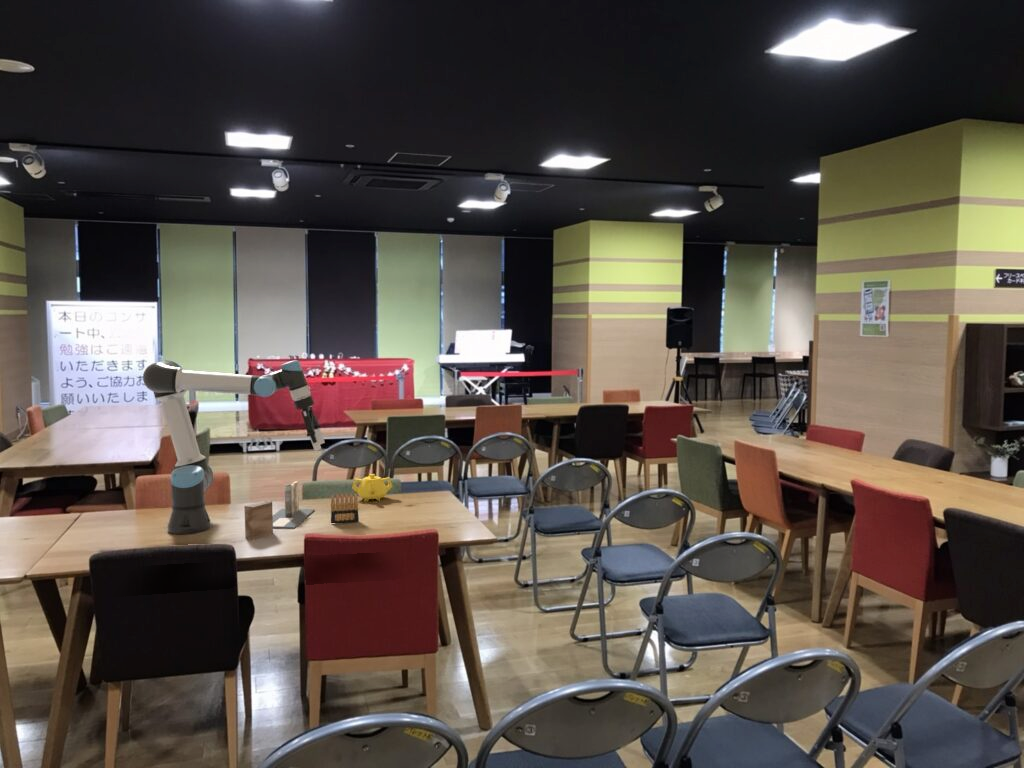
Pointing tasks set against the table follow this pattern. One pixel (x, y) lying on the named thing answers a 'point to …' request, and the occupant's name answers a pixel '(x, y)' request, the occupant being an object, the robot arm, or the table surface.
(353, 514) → the ammunition clip
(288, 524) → the mat
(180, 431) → the robot arm
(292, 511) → the birch hinge leaf
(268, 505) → the brown rectangular block
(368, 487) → the teapot
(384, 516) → the table surface
